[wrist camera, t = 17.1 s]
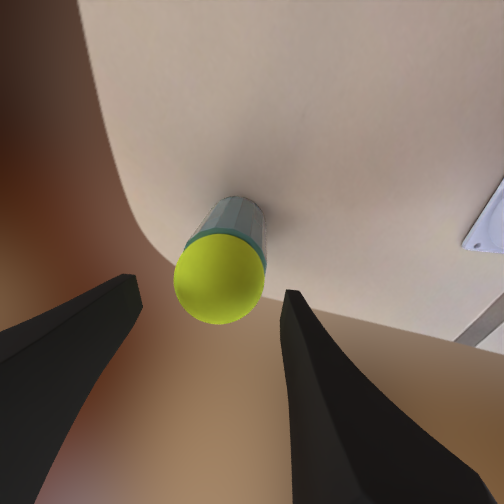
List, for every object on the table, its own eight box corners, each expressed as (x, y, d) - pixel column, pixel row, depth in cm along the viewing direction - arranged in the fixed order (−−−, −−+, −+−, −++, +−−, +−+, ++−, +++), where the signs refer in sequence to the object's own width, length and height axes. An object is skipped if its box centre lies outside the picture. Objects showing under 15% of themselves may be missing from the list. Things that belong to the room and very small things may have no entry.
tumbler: (268, 199, 18) (271, 232, 12) (262, 252, 20) (261, 302, 14) (207, 193, 18) (178, 223, 12) (209, 247, 20) (185, 294, 14)
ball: (269, 224, 13) (270, 270, 8) (261, 288, 15) (258, 350, 11) (188, 217, 13) (148, 258, 8) (193, 282, 15) (163, 340, 11)
